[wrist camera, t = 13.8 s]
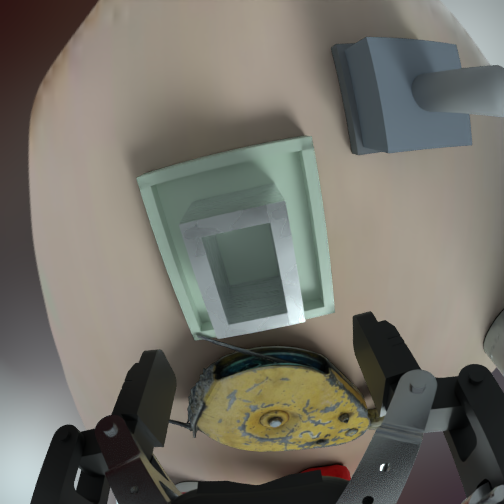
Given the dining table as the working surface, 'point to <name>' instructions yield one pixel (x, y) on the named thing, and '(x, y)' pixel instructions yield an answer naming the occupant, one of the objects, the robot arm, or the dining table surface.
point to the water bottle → (333, 471)
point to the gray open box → (213, 270)
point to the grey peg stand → (412, 94)
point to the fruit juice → (186, 486)
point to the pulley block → (277, 401)
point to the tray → (246, 239)
